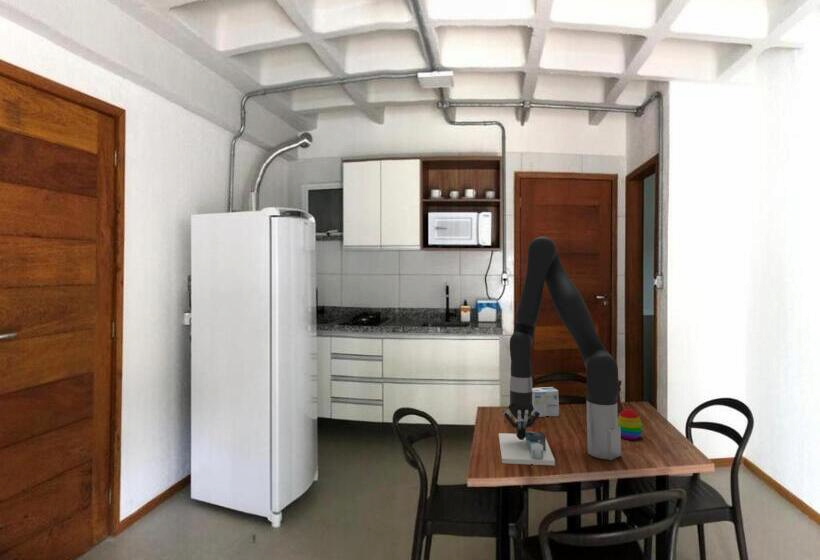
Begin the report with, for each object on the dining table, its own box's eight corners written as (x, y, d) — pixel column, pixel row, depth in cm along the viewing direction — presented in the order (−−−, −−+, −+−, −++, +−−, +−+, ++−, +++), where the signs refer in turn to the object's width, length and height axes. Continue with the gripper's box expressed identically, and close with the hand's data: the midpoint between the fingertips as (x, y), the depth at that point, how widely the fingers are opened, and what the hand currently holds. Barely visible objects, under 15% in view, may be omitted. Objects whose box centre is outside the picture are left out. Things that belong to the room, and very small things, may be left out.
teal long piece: (544, 458, 135) (544, 447, 135) (532, 458, 136) (532, 447, 136) (535, 439, 152) (534, 429, 152) (524, 438, 152) (524, 428, 152)
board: (555, 465, 135) (554, 460, 135) (502, 463, 137) (502, 458, 137) (544, 438, 156) (544, 434, 156) (498, 437, 159) (498, 433, 159)
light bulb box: (553, 411, 187) (552, 386, 187) (559, 416, 180) (559, 390, 180) (529, 412, 186) (528, 387, 186) (534, 417, 180) (533, 391, 180)
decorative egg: (645, 436, 157) (644, 408, 156) (638, 443, 151) (638, 414, 150) (620, 431, 162) (620, 404, 162) (613, 437, 156) (613, 409, 156)
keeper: (545, 450, 142) (545, 436, 142) (527, 450, 143) (526, 435, 143) (544, 447, 145) (544, 432, 145) (526, 446, 146) (525, 432, 146)
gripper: (505, 392, 145) (505, 443, 146) (544, 391, 146) (543, 442, 147) (499, 386, 153) (499, 435, 153) (535, 385, 154) (535, 434, 154)
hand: (521, 438), depth 150 cm, fingers closed
